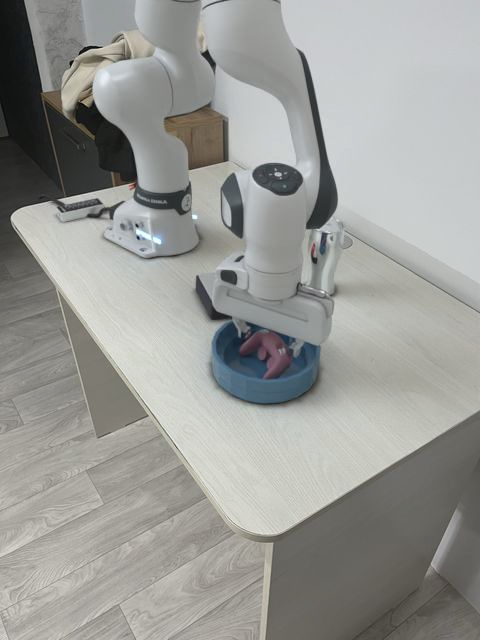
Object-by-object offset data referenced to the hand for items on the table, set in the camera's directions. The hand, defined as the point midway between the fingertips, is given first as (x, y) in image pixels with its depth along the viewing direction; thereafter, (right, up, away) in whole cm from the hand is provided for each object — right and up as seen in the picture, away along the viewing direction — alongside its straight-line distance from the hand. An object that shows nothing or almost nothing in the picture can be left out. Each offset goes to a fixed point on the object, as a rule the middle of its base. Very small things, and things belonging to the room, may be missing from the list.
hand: (268, 345), depth 91 cm
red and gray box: (-6, +10, +19) cm, 22 cm away
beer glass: (+11, +12, +23) cm, 28 cm away
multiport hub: (-47, +33, +45) cm, 73 cm away
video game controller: (-1, -4, +3) cm, 5 cm away
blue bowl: (-1, -4, +3) cm, 5 cm away
